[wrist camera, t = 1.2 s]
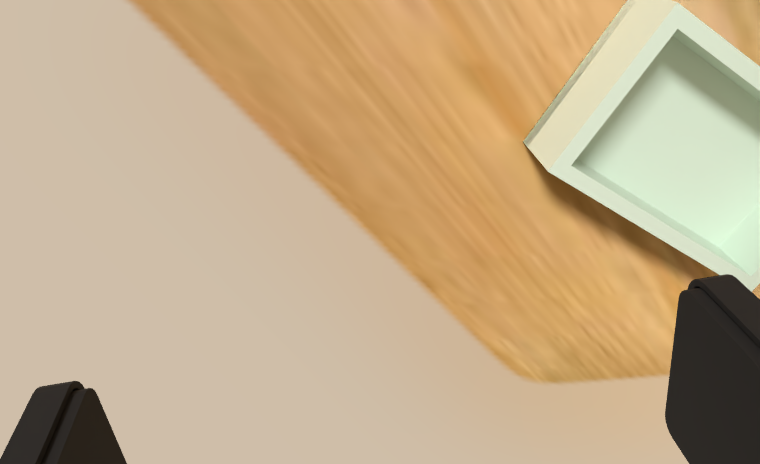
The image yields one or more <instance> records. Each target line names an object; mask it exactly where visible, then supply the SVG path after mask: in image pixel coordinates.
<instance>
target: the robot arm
mask: <svg viewBox="0 0 760 464" xmlns="http://www.w3.org/2000/svg"><path fill="white" fill-rule="evenodd" d="M665 417H666V423H667V427H668V430H669V432H670V434H671V436H672V438H673V439H674V441H675V442H676V444H677V446H678V447H679V448H680V450H681V452H682V453H683V455H684V456H685V458H686V459H687V461H688V462H689V464H760V299H759V298H757V297H756V296H755V295H754V294H753V293H752V292H751V291H750V290H749V289H748V288H747V287H746V286H745V285H744V284H742V283H741V282H740V281H739V280H738V279H737V278H736V277H734V276H733V275H729V274H725V275H719V276H713V277H707V278H701V279H695V280H693V281H691V283H690V284H689V287H688V290H684V291H682V292H681V293H680V296H679V301H678V309H677V318H676V326H675V334H674V343H673V351H672V360H671V368H670V377H669V386H668V394H667V402H666V411H665ZM0 464H127V463H126V461H125V458H124V456H123V454H122V452H121V449H120V447H119V444H118V442H117V440H116V437H115V435H114V433H113V431H112V428H111V426H110V424H109V421H108V419H107V417H106V414H105V412H104V410H103V407H102V405H101V403H100V400H99V398H98V396H97V394H96V392H95V391H94V390H93V389H91V388H88V389H84V387H83V385H82V384H81V383H80V382H78V381H72V382H66V383H60V384H54V385H48V386H42V387H39V388H37V389H36V390H35V392H34V393H33V394H32V396H31V399H30V401H29V403H28V404H27V406H26V409H25V411H24V412H23V414H22V417H21V419H20V421H19V423H18V425H17V427H16V429H15V431H14V433H13V435H12V437H11V439H10V441H9V443H8V445H7V447H6V449H5V451H4V453H3V455H2V457H1V459H0Z"/></svg>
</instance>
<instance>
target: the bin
mask: <svg viewBox="0 0 760 464" xmlns="http://www.w3.org/2000/svg"><path fill="white" fill-rule="evenodd" d="M523 142H524V144H525V145H526V146H527V147H528V148H529V150H530V151H531V152H532V153H533V154H534V156H535V157H536V158H537V159H538V160H539V162H540V163H541V164H542V165H543V166H544V168H545V169H546V170H547V171H548V172H549V173H551V174H553V175H554V176H556V177H558V178H559V179H561V180H563V181H564V182H566V183H568V184H569V185H571V186H573V187H574V188H576V189H578V190H579V191H581V192H583V193H584V194H586V195H588V196H589V197H591V198H593V199H594V200H596V201H598V202H599V203H601V204H603V205H604V206H606V207H608V208H609V209H611V210H613V211H614V212H616V213H618V214H619V215H621V216H623V217H624V218H626V219H628V220H629V221H631V222H633V223H634V224H636V225H638V226H639V227H641V228H642V229H644V230H646V231H647V232H649V233H651V234H652V235H654V236H656V237H657V238H659V239H661V240H662V241H664V242H666V243H667V244H669V245H671V246H672V247H674V248H676V249H677V250H679V251H681V252H682V253H684V254H686V255H687V256H689V257H691V258H692V259H694V260H696V261H697V262H699V263H701V264H702V265H704V266H706V267H707V268H709V269H711V270H712V271H714V272H716V273H717V274H719V275H725V274H729V275H733V276H734V277H736V278H737V279H738V280H739V281H740V282H741V283H742V284H744V285H745V286H746V287H747V288H748V289H749V290H750V291H751V292H752V291H753V290H754V289H755V288H756V287H757V286H758V285H759V284H760V66H758V65H757V64H756V63H755V62H753V61H752V60H751V59H749V58H748V57H747V56H746V55H744V54H743V53H742V52H741V51H739V50H738V49H737V48H735V47H734V46H733V45H732V44H730V43H729V42H728V41H726V40H725V39H724V38H723V37H721V36H720V35H719V34H717V33H716V32H715V31H714V30H712V29H711V28H710V27H708V26H707V25H706V24H705V23H703V22H702V21H701V20H699V19H698V18H697V17H696V16H694V15H693V14H692V13H690V12H689V11H688V10H687V9H685V8H684V7H683V6H681V5H680V4H679V3H678V2H675V1H672V0H627V1H626V3H625V4H624V5H623V7H622V8H621V10H620V11H619V12H618V14H617V15H616V16H615V18H614V19H613V20H612V22H611V23H610V24H609V26H608V27H607V29H606V30H605V31H604V33H603V34H602V35H601V37H600V38H599V39H598V41H597V42H596V43H595V45H594V46H593V48H592V49H591V50H590V52H589V53H588V54H587V56H586V57H585V58H584V60H583V61H582V62H581V64H580V65H579V67H578V68H577V69H576V71H575V72H574V73H573V75H572V76H571V77H570V79H569V80H568V81H567V83H566V84H565V86H564V87H563V88H562V90H561V91H560V92H559V94H558V95H557V96H556V98H555V99H554V100H553V102H552V103H551V105H550V106H549V107H548V109H547V110H546V111H545V113H544V114H543V115H542V117H541V118H540V119H539V121H538V122H537V124H536V125H535V126H534V128H533V129H532V130H531V132H530V133H529V134H528V136H527V137H526V138H525V140H524V141H523Z"/></svg>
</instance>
